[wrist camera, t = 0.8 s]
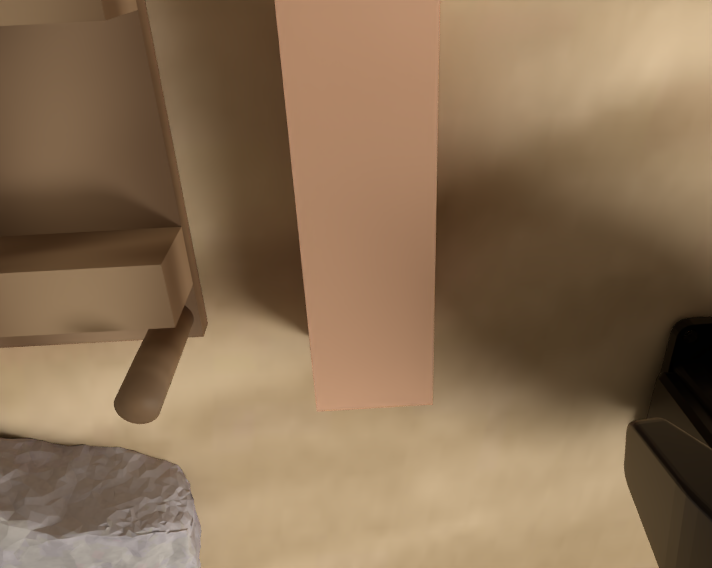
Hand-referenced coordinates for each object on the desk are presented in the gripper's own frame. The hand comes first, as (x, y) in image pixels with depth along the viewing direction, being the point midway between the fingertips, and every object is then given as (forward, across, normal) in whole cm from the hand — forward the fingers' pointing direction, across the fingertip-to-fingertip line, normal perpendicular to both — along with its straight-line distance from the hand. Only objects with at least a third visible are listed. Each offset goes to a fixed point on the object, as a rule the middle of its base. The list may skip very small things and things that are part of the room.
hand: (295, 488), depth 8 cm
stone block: (+12, +13, +14) cm, 23 cm away
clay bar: (+12, -1, -1) cm, 12 cm away
